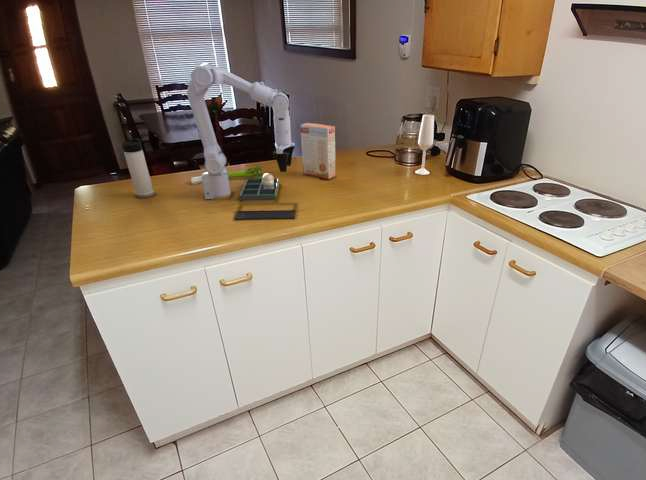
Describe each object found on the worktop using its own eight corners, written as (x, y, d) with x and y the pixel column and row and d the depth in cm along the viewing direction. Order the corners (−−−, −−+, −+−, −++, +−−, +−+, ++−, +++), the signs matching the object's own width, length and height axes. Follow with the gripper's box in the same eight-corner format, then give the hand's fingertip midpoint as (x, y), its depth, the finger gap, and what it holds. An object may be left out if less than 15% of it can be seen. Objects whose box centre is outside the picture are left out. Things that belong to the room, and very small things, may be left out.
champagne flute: (413, 173, 183) (418, 116, 170) (417, 169, 189) (422, 113, 175) (427, 175, 181) (434, 117, 168) (431, 171, 187) (438, 114, 173)
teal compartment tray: (240, 202, 151) (239, 195, 149) (247, 185, 167) (246, 178, 166) (276, 202, 152) (275, 194, 150) (279, 185, 168) (279, 178, 166)
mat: (235, 219, 138) (234, 218, 137) (241, 204, 149) (241, 203, 149) (294, 218, 139) (294, 217, 139) (295, 203, 151) (295, 202, 150)
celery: (194, 184, 172) (265, 175, 177) (193, 192, 167) (266, 182, 172) (190, 171, 168) (262, 161, 172) (189, 178, 163) (263, 168, 167)
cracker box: (336, 176, 178) (335, 125, 167) (328, 180, 174) (327, 128, 162) (310, 171, 184) (308, 121, 173) (302, 174, 180) (299, 124, 168)
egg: (262, 193, 157) (260, 175, 153) (264, 189, 161) (262, 171, 157) (274, 193, 158) (272, 175, 154) (275, 189, 161) (273, 171, 157)
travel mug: (158, 193, 158) (144, 139, 147) (145, 199, 153) (129, 143, 142) (146, 191, 160) (132, 137, 149) (133, 196, 155) (116, 141, 144)
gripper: (289, 135, 140) (291, 174, 147) (297, 126, 151) (299, 163, 159) (269, 134, 140) (272, 173, 148) (279, 126, 152) (282, 162, 160)
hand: (285, 168), depth 153 cm, fingers open, 7 cm apart
